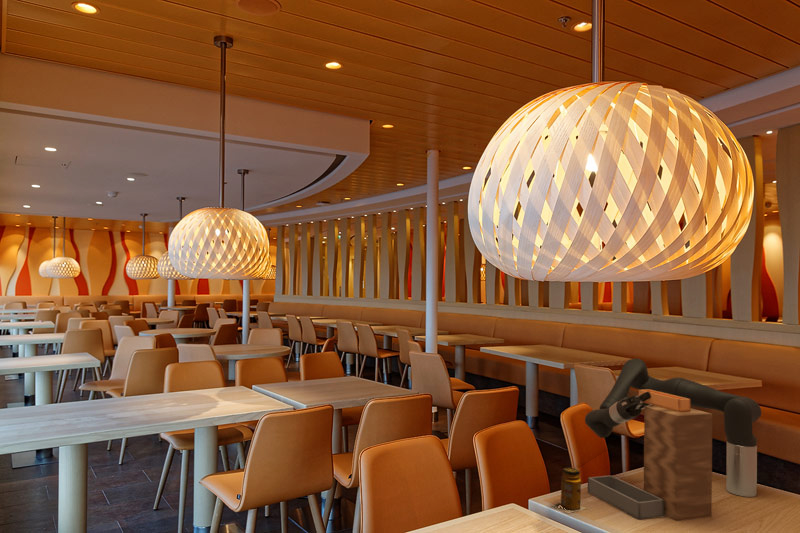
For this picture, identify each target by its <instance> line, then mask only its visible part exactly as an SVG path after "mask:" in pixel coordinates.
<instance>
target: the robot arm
mask: <svg viewBox="0 0 800 533" xmlns="http://www.w3.org/2000/svg"><path fill="white" fill-rule="evenodd" d="M631 388H633V389H636V390H638V391H639V390H646V389H650V390H654V391H658V392H662V393H667V394H671V395H675V396H679V397H684V398H688V399H691V406H692V407H694V408H695V407H696V408H700V409H701V408H702V409H709V410H714V411H718V412H721V413H723V424H724V425H723V426H724V428H723V429H724V433H725V434H724V435H725V436H726V437H725V438H726V481H725V482H726V486H725V487H726V488H725V489H726V491H727V492H728V493H730V494H733V495H737V496H741V497H747V498H748V497H749V498H750V497H753V498H754V497H757V491H758V490H757V482H758V479H757V478H758V477H757V476H758V468H757V467H758V463H757V462H758V444H757V443H758V439H757V437H756V436H755V435H754V433H753V423H755V422H757V421H758V420H759V419H760V418H761V416H762V408H761V406H760V405H759V404H758V402H756V401H755V399H753V398H750V397H748V396H741V395H737V394H733V393H732V394H731V393H728V392H724V391H721V390H718V389H716V388H713V387H711V386H708V385H705V384H701V383H698V382H696V381H693V380H689V379H687V378H684V377H673V378H669V379H662V380H661V379H658V378H655V377H653V376H651V375H649V371H648V367H647V364H646V363H645V361H644V360H643V359H640V358H631V359H628V360H627V361H626V362H624V363H623V366H622V368H621V371H620V373H619V375H618V377H617V379H616V381H615V383H614V384H613V386H612V388H611V390H610V392H608V394H607V396H606V397H605V399H604V400H603V401H602V403H601V404H600V406H599V409H594V410H591V411H589V412H588V413H586V415H585V417H584V423H585V424H586V426H587V427H588V428H589V429H590V430H591V431H592V432H593V433H595V435H596V436H598V438H600V439H603V438H607V437H609V436H610V435H611V433H612V432H613V430H614V428H616V427H617V426H619V425H621V424H623V423H627V422H630V421H631V420H633V419H636V418H638V417H639V416H640V414H641V413H642V411H643V410H645V407H647V406H654V405H650V404H647V403H643V401H646V400H648V399H650V398H651V395H650V392H645V393H644V394H642V395H639V394H638V395H632V396H628V395H629V391H630V389H631Z"/></svg>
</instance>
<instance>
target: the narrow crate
mask: <svg viewBox="0 0 800 533" xmlns="http://www.w3.org/2000/svg"><path fill="white" fill-rule="evenodd" d="M645 392H650V395H651V398H650V399H648V400H646V401H643V403H647V404H650V406H651V405H654V406H658V407H661V408H665V409H669V410H673V411H676V412H691V399H688V398H684V397H679V396H675V395H671V394H667V393H662V392H658V391H654V390H650V389H646V390H639V389H638V395H642V394H644V393H645Z"/></svg>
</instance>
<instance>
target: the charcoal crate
mask: <svg viewBox="0 0 800 533" xmlns="http://www.w3.org/2000/svg"><path fill="white" fill-rule="evenodd" d="M587 493H588V494H590V495H591V496H594V497H596V498H597V499H600V500H602V501H603V502H605V503H607V504H609V505H610V506H612V507H614V508H616V509H617V510H619V511H622V512H623V513H625V514H627V515H629V516H631V517H633V518H634V519H637V520H638V521H639V520H646V519H654V518H663V517H665V515H664V501H665V500H663V499H661V498H659V497H657V496H655V495H653V494H650V493H648V492H646V491H644V489H642V488H640V487H637V486H635V485H633V484H631V483H629V482H627V481H625V480H622V479H621V478H618V477H617V476H614V475H611V474H609V475H602V476H601V475H600V476H592V477H587Z"/></svg>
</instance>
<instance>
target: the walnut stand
mask: <svg viewBox="0 0 800 533" xmlns="http://www.w3.org/2000/svg"><path fill="white" fill-rule="evenodd" d="M643 420H644V423H643V426H644V428H643V429H644V430H643V431H644V432H643V439H644V440H643V490H644V491H646V492H648V493H650V494H653V495H655V496H657V497H659V498H661V499H663V500H665V501H664V516H665V517H668V518H669V519H672V520H674V521H676V522H679V521H680V522H681V521H686V520H692V519H693V520H695V519H699V518H702V519H703V518H706V517H707V518H708V517H712V512H713V511H712V504H713V502H712V501H713V499H712V498H713V496H712V494H713V493H712V492H713V491H712V489H713V485H712V484H713V472H712V471H713V413H712V412H711V413H710V412H707V411H703V410H699V409H696V408H691V412H676V411H673V410H669V409H665V408H661V407H658V406H651V405H650V406H647V407H645V409H644V419H643Z"/></svg>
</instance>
